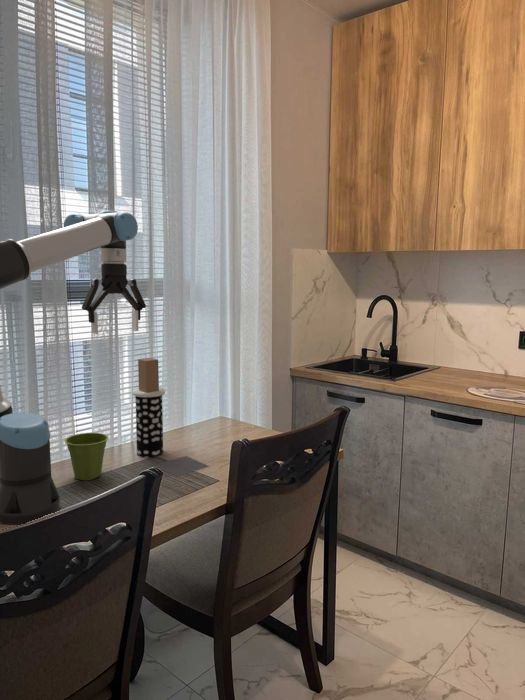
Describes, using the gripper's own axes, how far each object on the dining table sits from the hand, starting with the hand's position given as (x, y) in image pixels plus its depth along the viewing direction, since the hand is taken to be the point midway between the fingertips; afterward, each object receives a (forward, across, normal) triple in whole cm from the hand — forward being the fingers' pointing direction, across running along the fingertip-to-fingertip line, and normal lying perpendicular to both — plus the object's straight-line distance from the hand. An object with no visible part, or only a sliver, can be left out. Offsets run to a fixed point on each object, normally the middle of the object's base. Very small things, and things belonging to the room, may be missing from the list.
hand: (115, 332), depth 166 cm
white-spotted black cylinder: (+40, +8, -7) cm, 41 cm away
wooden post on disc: (+19, +8, -7) cm, 22 cm away
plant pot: (+40, -15, -12) cm, 44 cm away
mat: (+39, +9, -23) cm, 46 cm away
